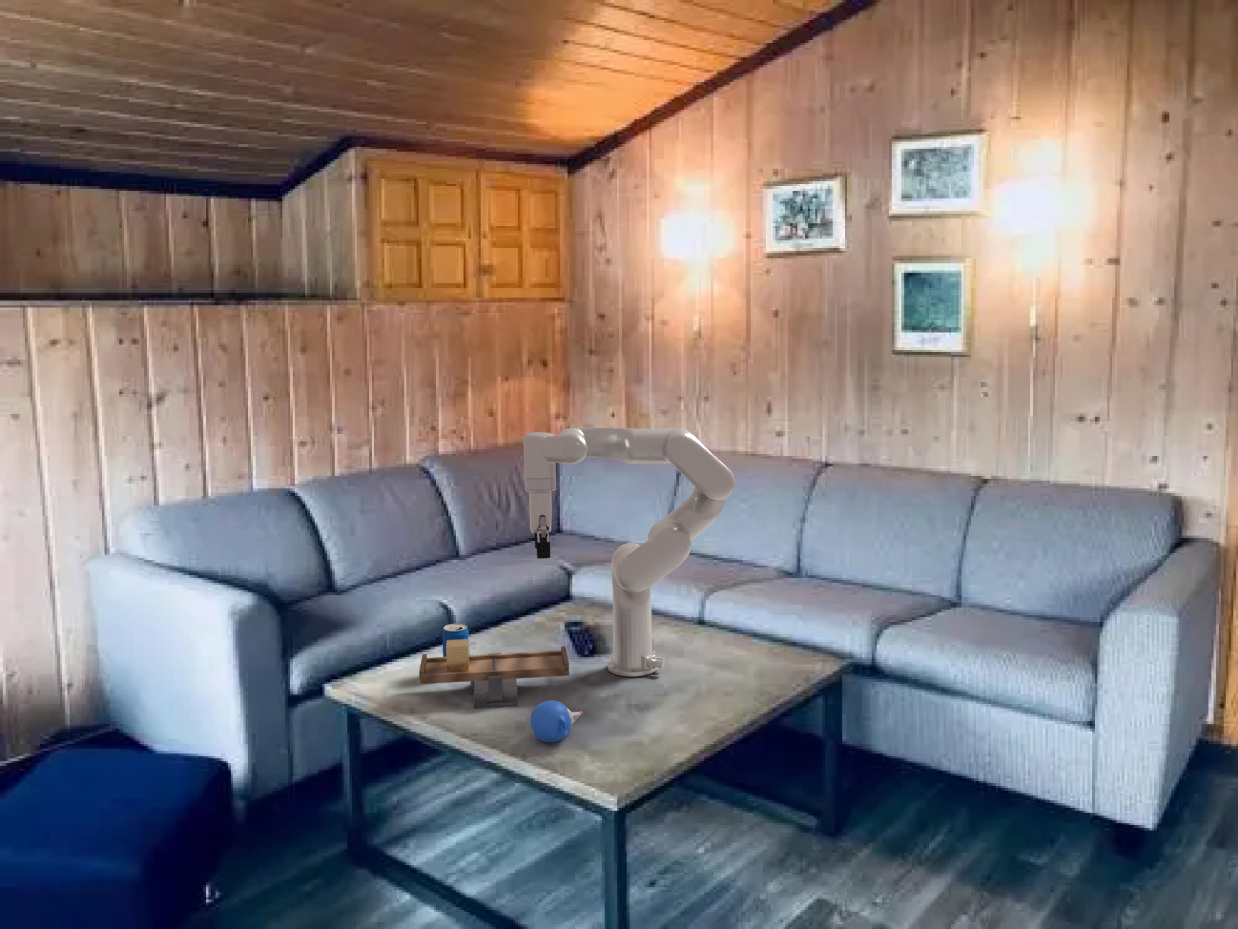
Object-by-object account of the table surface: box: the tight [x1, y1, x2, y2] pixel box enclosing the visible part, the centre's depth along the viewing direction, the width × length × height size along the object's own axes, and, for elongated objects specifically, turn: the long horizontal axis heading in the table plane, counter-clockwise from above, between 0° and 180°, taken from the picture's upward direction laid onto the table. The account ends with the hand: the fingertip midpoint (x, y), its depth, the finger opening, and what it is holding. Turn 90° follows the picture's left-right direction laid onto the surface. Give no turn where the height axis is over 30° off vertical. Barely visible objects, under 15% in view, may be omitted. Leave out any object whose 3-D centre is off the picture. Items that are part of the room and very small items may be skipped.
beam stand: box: [473, 652, 519, 710], centre depth 248 cm, size 10×18×7 cm, turn 7°
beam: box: [418, 645, 570, 685], centre depth 247 cm, size 34×13×3 cm, turn 97°
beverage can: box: [441, 623, 471, 657], centre depth 260 cm, size 6×6×12 cm
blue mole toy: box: [530, 699, 584, 743], centre depth 222 cm, size 12×12×8 cm
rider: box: [446, 639, 470, 672], centre depth 246 cm, size 5×5×6 cm
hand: (542, 553), depth 257 cm, fingers open, 9 cm apart
